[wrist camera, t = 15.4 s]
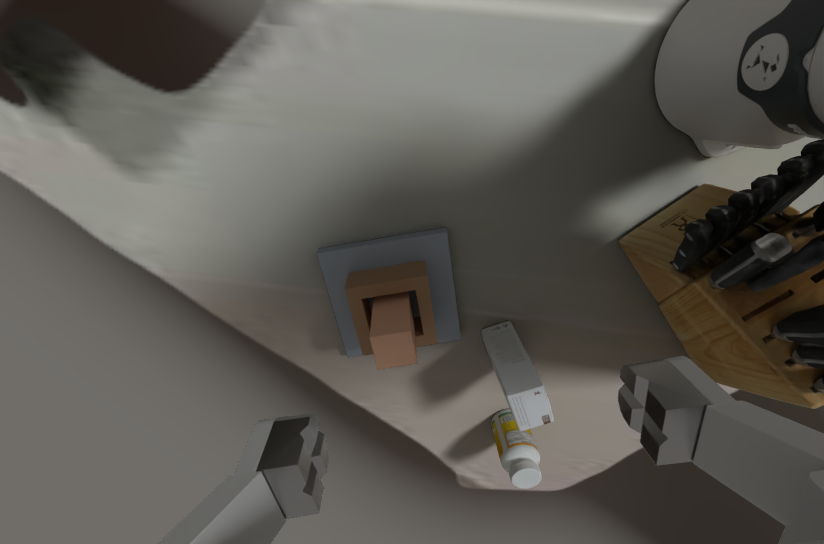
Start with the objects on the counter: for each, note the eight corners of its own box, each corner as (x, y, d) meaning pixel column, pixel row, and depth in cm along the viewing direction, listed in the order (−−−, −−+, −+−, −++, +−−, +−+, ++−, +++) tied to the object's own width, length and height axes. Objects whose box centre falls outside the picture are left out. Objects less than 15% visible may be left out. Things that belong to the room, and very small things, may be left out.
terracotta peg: (407, 282, 45) (410, 330, 36) (413, 310, 47) (417, 363, 38) (374, 287, 45) (369, 337, 36) (381, 315, 47) (377, 369, 38)
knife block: (674, 106, 39) (1348, 155, 11) (771, 324, 52) (1202, 598, 24) (577, 176, 42) (931, 352, 14) (692, 367, 55) (997, 656, 27)
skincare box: (479, 329, 50) (502, 396, 40) (511, 318, 50) (544, 382, 39) (491, 363, 53) (516, 434, 42) (522, 353, 53) (556, 422, 42)
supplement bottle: (507, 402, 56) (527, 459, 48) (532, 417, 58) (556, 475, 49) (482, 423, 58) (497, 482, 50) (508, 438, 60) (527, 497, 51)
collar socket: (445, 227, 44) (451, 245, 39) (459, 333, 51) (466, 359, 46) (318, 248, 45) (309, 268, 40) (348, 350, 51) (343, 378, 46)
